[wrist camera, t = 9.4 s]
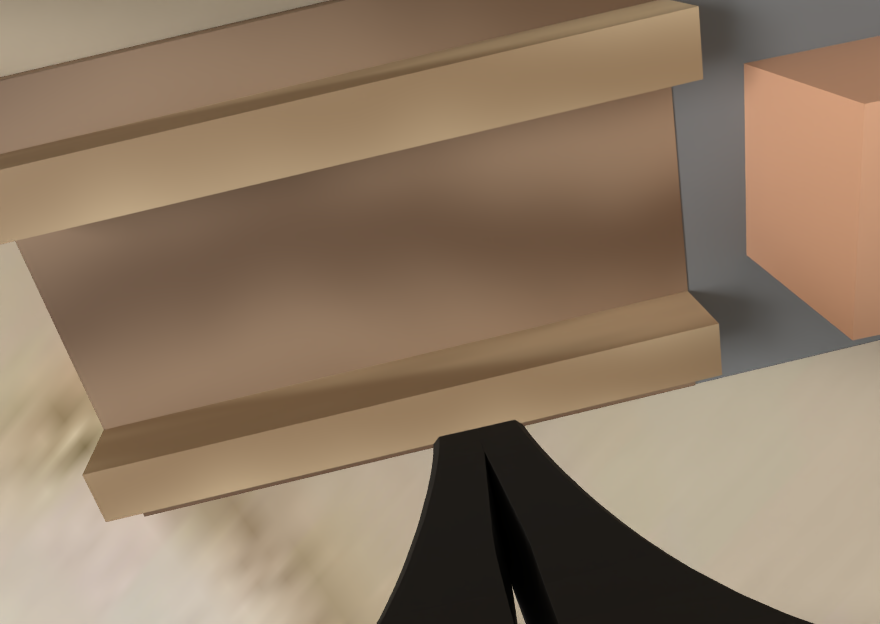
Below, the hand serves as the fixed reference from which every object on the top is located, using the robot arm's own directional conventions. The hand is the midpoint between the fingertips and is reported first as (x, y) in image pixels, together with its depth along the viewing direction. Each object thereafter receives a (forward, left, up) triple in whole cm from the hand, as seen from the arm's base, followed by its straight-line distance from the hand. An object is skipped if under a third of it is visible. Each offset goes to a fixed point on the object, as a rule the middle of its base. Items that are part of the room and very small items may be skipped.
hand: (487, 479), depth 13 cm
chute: (+1, +1, -10) cm, 10 cm away
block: (+1, -11, -9) cm, 14 cm away
